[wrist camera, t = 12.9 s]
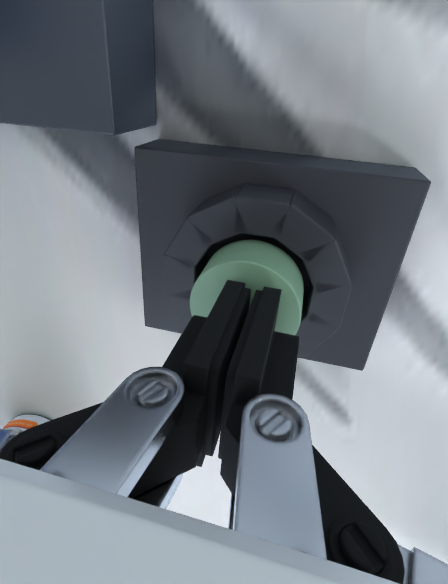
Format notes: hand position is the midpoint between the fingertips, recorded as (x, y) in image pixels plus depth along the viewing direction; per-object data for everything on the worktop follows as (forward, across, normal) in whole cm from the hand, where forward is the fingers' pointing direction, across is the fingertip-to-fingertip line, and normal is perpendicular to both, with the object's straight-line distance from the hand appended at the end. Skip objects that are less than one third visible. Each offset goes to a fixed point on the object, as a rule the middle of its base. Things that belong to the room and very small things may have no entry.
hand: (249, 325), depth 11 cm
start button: (+2, 0, 0) cm, 2 cm away
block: (+6, 0, 0) cm, 6 cm away
